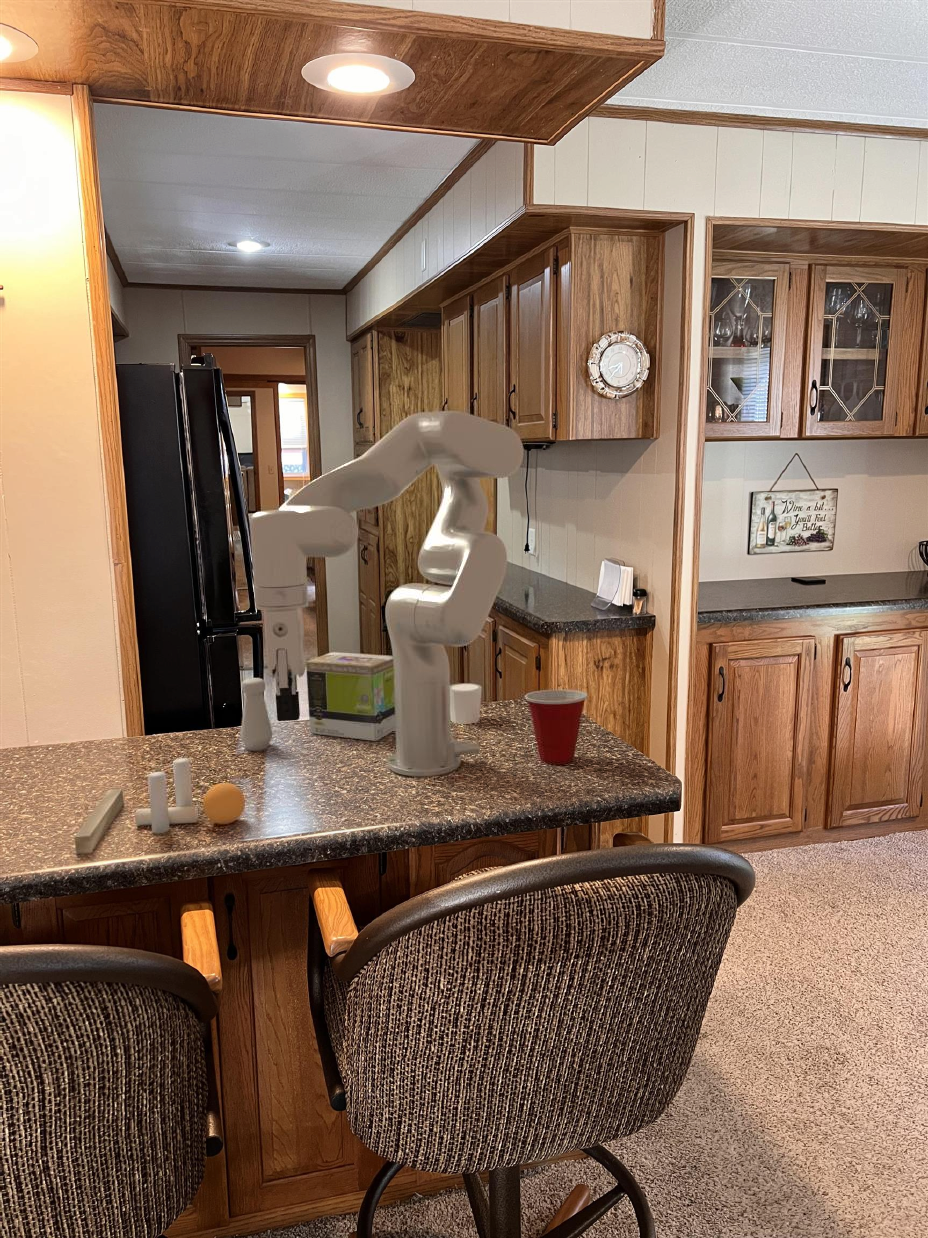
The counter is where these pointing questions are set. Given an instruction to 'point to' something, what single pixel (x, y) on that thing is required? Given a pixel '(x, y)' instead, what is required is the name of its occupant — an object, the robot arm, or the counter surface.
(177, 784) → the pin
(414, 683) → the robot arm
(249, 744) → the salt shaker
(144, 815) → the front pin
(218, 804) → the ball
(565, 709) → the plastic cup
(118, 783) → the counter surface
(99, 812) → the back rail
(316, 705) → the tea box
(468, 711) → the white cylinder
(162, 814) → the pin
